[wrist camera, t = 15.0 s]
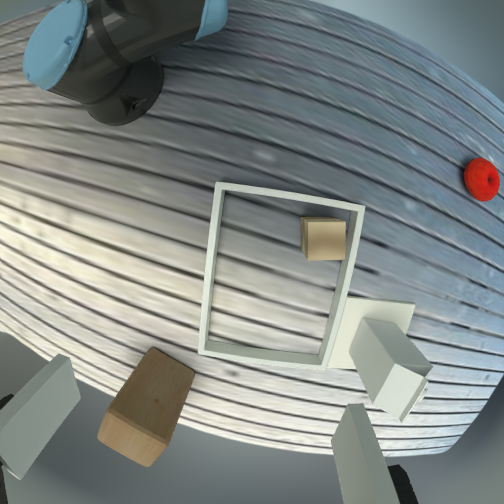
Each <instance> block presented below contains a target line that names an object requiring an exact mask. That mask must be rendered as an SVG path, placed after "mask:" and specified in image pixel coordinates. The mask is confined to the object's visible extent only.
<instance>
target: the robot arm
mask: <svg viewBox="0 0 504 504" xmlns="http://www.w3.org/2000/svg"><path fill="white" fill-rule="evenodd" d="M227 17H228V3H227V0H93V1H91V2H89V3H86V2H85V1H83V0H66V1H64V2H62V3H61V4H59V5H57V6H56V7H55V8H53V9H52V10H51V11H50V12H49V13H48V14H47V15H46V16H45V17H44V18H43V19H42V21H41V22H40V23H39V24H38V26H37V27H36V29H35V30H34V32H33V34H32V36H31V38H30V39H29V42H28V44H27V46H26V49H25V52H24V57H23V72H24V75H25V77H26V79H27V80H28V81H29V82H31V83H33V84H35V85H37V86H39V87H40V88H41V89H43V90H47V91H50V92H53V93H56V94H58V95H61V96H64V97H67V98H69V99H72V100H75V101H77V102H80V103H82V104H83V106H84V107H85V108H86V109H87V111H88V112H89V114H90V115H91V116H92V117H93V118H94V119H95V120H97V121H99V122H101V123H104V124H107V125H112V126H118V125H124V124H127V123H130V122H132V121H134V120H136V119H137V118H139V117H140V116H142V115H143V114H144V113H145V112H146V111H147V110H148V109H149V108H150V107H151V106H152V105H153V103H154V102H155V100H156V99H157V97H158V95H159V93H160V91H161V88H162V84H163V69H162V66H161V64H160V62H159V60H158V59H157V58H156V57H155V56H154V54H156V53H159V52H161V51H164V50H166V49H169V48H172V47H174V46H177V45H180V44H183V43H186V42H188V41H191V40H192V41H196V40H198V39H199V38H200V37H203V36H206V35H209V34H212V33H215V32H218V31H219V30H221V29H222V28H223V27H224V26H225V24H226V22H227ZM80 398H81V396H80V393H79V390H78V386H77V383H76V379H75V376H74V372H73V368H72V364H71V360H70V358H69V357H67V356H64V355H61V354H58V355H57V356H55V357H54V358H53V359H52V360H51V361H50V362H49V363H48V364H47V365H46V366H45V367H44V368H43V369H42V370H41V371H40V372H38V374H36V375H35V376H34V377H33V378H32V379H31V380H30V381H29V382H28V383H27V384H26V385H25V386H24V387H23V388H22V389H21V390H20V391H19V392H18V393H17V394H16V395H15V396H14V395H12V394H10V395H8V396H6V397H4V398H2V399H1V400H0V504H8V501H7V495H6V489H5V483H4V476H3V471H2V468H1V466H2V465H4V466H5V468H6V469H7V470H8V471H9V472H10V473H11V474H13V475H14V476H15V477H17V478H18V479H20V480H21V479H22V478H23V476H24V475H25V473H26V472H27V470H28V469H29V467H30V466H31V465H32V463H33V462H34V460H35V459H36V457H37V456H38V455H39V453H40V452H41V451H42V449H43V448H44V446H45V445H46V444H47V442H48V441H49V440H50V438H51V437H52V435H53V434H54V433H55V431H56V430H57V429H58V427H59V426H60V425H61V423H62V422H63V421H64V419H65V418H66V417H67V415H68V414H69V413H70V411H71V410H72V409H73V408H74V406H75V405H76V404H77V402H78V401H79V400H80ZM331 444H332V448H333V453H334V458H335V462H336V467H337V472H338V477H339V482H340V487H341V492H342V497H343V502H344V504H418V501H417V499H416V496H415V493H414V491H413V488H412V485H411V484H410V480H409V478H408V475H407V473H406V472H405V470H404V469H403V468H402V467H401V466H400V465H399V464H398V465H393V466H387V465H386V462H385V459H384V457H383V454H382V451H381V448H380V446H379V443H378V440H377V438H376V435H375V433H374V430H373V427H372V425H371V422H370V420H369V417H368V414H367V412H366V409H365V407H364V404H363V403H361V404H348V405H347V407H346V409H345V412H344V414H343V416H342V418H341V421H340V423H339V425H338V427H337V429H336V431H335V434H334V436H333V438H332V440H331Z"/></svg>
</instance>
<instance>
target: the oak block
mask: <svg viewBox="0 0 504 504" xmlns="http://www.w3.org/2000/svg"><path fill="white" fill-rule="evenodd" d="M345 234H346V222H345V221H342V220H339V219H337V218H334V217H301V250H302V251H303V253H304V255H305V256H306V258H307V260H345Z"/></svg>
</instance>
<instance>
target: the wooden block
mask: <svg viewBox="0 0 504 504" xmlns="http://www.w3.org/2000/svg"><path fill="white" fill-rule="evenodd" d="M194 376H195V373H194V371H193V370H192V369H190V368H188V367H186V366H184V365H183V364H181V363H179V362H177V361H176V360H174V359H172V358H170V357H169V356H167V355H165V354H164V353H162V352H160V351H159V350H157V349H156V348H151V349H149V350H148V351H147V353H146V354H145V356H144V357H143V358H142V360H141V361H140V363H139V364H138V365H137V367H136V368H135V370H134V371H133V372H132V374H131V375H130V377H129V378H128V380H127V381H126V382H125V384H124V385H123V387H122V388H121V390H120V391H119V392H118V394H117V395H116V397H115V398H114V400H113V401H112V402H111V404H110V406H109V407H108V408H107V410H106V412H105V415H104V418H103V420H102V423H101V426H100V428H99V431H98V434H97V438H98V439H99V440H100V441H101V442H102V443H104V444H106V445H107V446H109V447H110V448H112V449H114V450H115V451H117V452H119V453H121V454H122V455H124V456H126V457H128V458H130V459H132V460H134V461H135V462H137V463H139V464H141V465H143V466H146V467H150V466H151V465H152V464H153V463H154V462H155V461H156V460H157V458H158V457H159V456H160V455H161V454H162V452H163V451H164V450H165V449H166V448H167V446H168V445H169V442H170V440H171V437H172V435H173V432H174V429H175V427H176V424H177V421H178V419H179V416H180V413H181V411H182V408H183V405H184V403H185V400H186V398H187V395H188V392H189V390H190V387H191V384H192V382H193V379H194Z"/></svg>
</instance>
